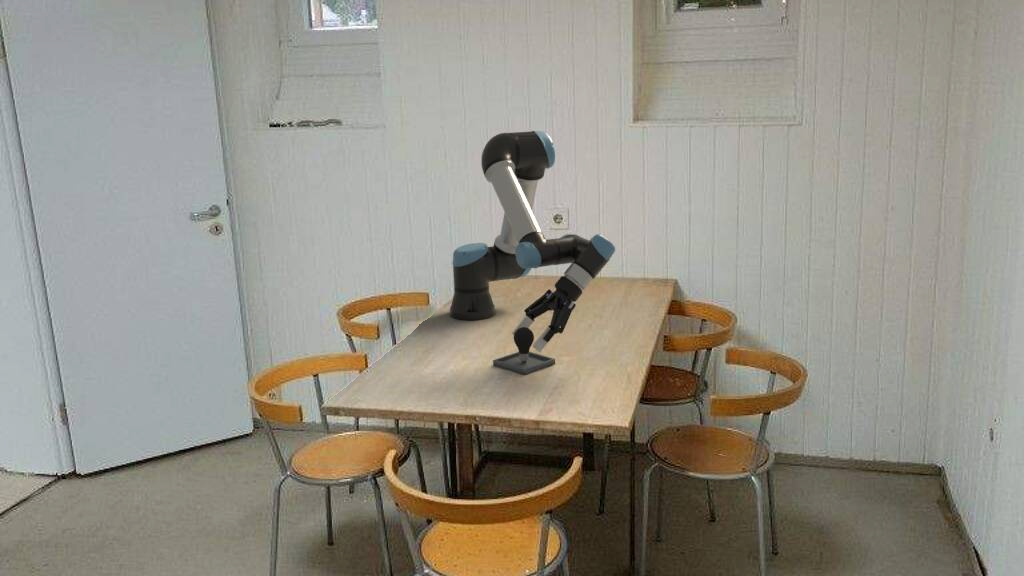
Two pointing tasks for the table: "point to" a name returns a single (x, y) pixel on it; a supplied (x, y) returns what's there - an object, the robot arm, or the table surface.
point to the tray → (531, 365)
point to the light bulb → (523, 342)
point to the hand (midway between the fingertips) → (525, 342)
